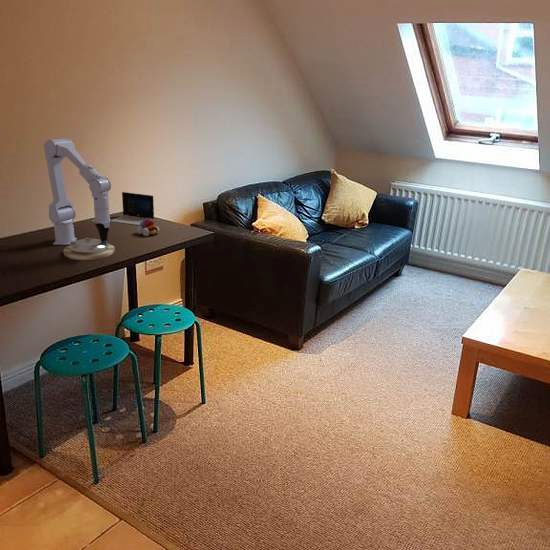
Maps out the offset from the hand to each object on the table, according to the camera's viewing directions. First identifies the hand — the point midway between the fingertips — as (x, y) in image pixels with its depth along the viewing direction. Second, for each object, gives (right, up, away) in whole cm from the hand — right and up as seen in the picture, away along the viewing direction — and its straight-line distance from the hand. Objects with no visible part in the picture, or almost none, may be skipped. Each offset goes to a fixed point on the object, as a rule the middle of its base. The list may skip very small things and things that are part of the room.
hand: (103, 240), depth 225 cm
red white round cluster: (+11, +5, +30) cm, 32 cm away
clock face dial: (-6, -3, 0) cm, 7 cm away
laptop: (-2, +13, +51) cm, 52 cm away
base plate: (-6, -5, +1) cm, 8 cm away
